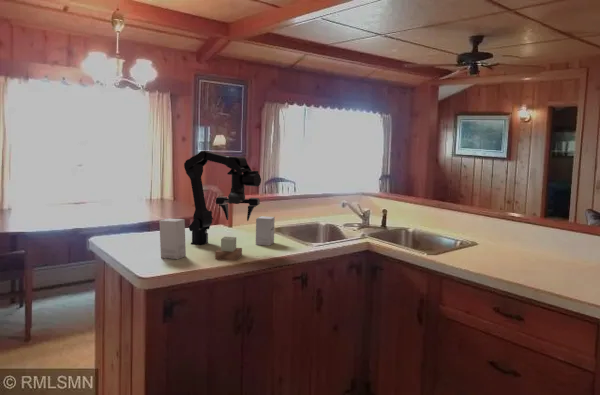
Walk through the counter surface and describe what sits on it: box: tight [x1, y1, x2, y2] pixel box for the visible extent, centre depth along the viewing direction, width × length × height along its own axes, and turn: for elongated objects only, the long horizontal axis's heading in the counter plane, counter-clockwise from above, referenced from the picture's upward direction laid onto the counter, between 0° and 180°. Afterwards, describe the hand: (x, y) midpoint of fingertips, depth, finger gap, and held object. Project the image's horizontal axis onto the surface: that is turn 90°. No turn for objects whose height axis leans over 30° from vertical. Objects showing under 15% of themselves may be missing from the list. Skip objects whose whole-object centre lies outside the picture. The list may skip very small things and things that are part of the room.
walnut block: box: [214, 247, 243, 261], centre depth 192 cm, size 9×9×4 cm
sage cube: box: [220, 236, 237, 252], centre depth 191 cm, size 5×5×5 cm
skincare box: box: [159, 217, 187, 260], centre depth 188 cm, size 8×7×16 cm
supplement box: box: [255, 215, 275, 246], centre depth 219 cm, size 7×7×13 cm
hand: (237, 220), depth 205 cm, fingers open, 9 cm apart
